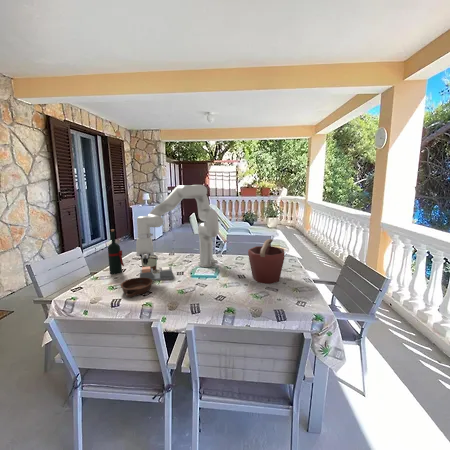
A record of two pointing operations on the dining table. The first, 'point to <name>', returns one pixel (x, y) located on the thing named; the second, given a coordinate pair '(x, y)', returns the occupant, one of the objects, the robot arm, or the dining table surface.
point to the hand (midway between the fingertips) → (145, 264)
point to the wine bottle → (114, 256)
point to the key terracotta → (146, 269)
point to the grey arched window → (150, 262)
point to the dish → (136, 286)
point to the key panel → (157, 274)
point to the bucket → (266, 262)
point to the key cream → (165, 268)
